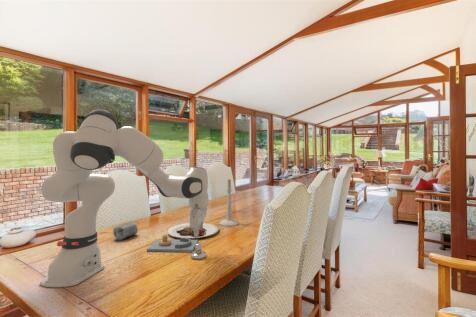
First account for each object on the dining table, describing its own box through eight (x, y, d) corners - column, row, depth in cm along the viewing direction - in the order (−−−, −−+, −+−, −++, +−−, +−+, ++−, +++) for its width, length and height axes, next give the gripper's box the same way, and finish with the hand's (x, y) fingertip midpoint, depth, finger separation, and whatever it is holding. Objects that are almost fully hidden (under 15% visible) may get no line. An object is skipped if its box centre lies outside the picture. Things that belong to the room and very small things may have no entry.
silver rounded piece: (204, 260, 117) (204, 246, 117) (189, 259, 117) (189, 246, 117) (207, 254, 124) (207, 241, 124) (192, 253, 124) (192, 241, 124)
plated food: (190, 223, 177) (190, 218, 177) (228, 229, 162) (228, 224, 162) (156, 235, 151) (156, 229, 151) (197, 244, 136) (197, 238, 136)
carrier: (192, 252, 126) (192, 240, 125) (147, 251, 126) (146, 239, 126) (197, 242, 140) (197, 231, 139) (157, 241, 140) (157, 230, 140)
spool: (120, 237, 138) (119, 218, 142) (109, 242, 141) (108, 224, 146) (142, 236, 149) (140, 219, 153) (131, 241, 153) (130, 225, 157)
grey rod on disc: (235, 220, 183) (235, 177, 182) (241, 225, 171) (241, 179, 170) (217, 222, 179) (217, 178, 178) (222, 227, 167) (222, 180, 166)
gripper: (200, 207, 109) (201, 240, 109) (208, 198, 129) (209, 226, 129) (185, 207, 109) (186, 240, 109) (196, 198, 129) (196, 226, 130)
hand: (198, 232), depth 119 cm, fingers open, 8 cm apart
